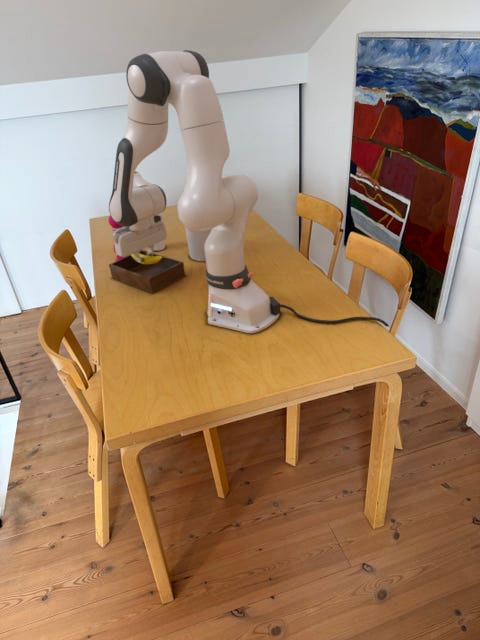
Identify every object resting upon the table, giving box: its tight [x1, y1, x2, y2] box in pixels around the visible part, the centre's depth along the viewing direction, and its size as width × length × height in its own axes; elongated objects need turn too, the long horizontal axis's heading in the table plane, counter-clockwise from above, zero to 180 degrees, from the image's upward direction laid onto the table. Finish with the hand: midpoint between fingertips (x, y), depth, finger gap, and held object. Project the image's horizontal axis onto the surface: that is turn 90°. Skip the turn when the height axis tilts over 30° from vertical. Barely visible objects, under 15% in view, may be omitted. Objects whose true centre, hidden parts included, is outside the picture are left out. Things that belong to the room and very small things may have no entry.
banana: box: [131, 254, 164, 264], centre depth 159 cm, size 3×19×6 cm, turn 51°
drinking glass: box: [153, 213, 166, 252], centre depth 182 cm, size 7×7×15 cm
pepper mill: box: [108, 214, 125, 261], centre depth 175 cm, size 7×7×20 cm
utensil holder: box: [184, 226, 212, 262], centre depth 173 cm, size 15×15×18 cm
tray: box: [108, 249, 186, 295], centre depth 163 cm, size 22×15×6 cm
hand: (145, 259), depth 160 cm, fingers closed on banana, 3 cm apart
